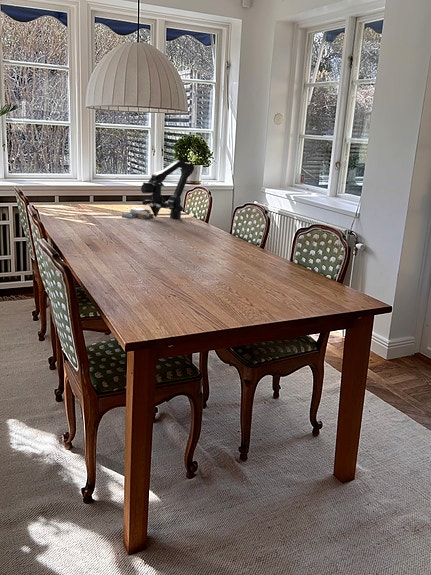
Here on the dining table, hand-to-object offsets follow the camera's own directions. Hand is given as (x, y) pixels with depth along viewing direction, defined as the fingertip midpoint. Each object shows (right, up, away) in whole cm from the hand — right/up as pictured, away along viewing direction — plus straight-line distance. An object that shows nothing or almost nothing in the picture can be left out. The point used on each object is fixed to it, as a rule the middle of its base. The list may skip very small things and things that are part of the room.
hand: (155, 216), depth 346 cm
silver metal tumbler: (-11, +1, +6) cm, 12 cm away
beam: (-14, +1, +8) cm, 16 cm away
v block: (-18, 0, +2) cm, 18 cm away
